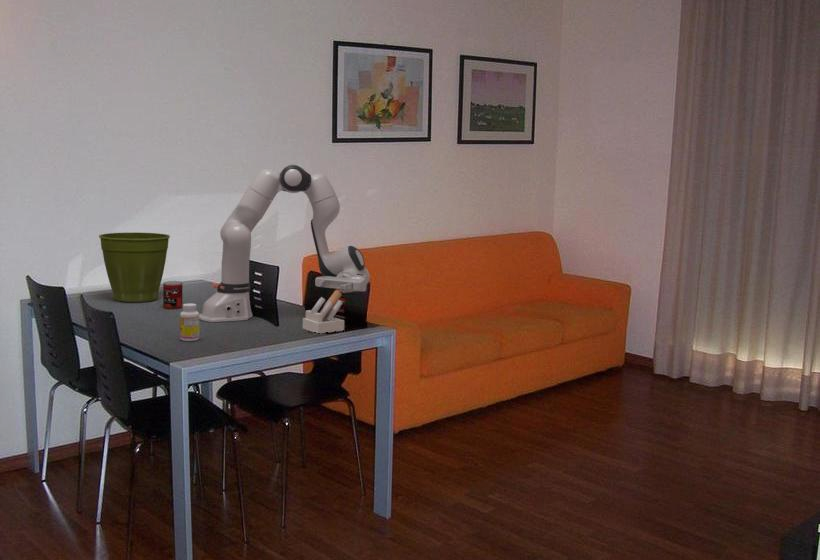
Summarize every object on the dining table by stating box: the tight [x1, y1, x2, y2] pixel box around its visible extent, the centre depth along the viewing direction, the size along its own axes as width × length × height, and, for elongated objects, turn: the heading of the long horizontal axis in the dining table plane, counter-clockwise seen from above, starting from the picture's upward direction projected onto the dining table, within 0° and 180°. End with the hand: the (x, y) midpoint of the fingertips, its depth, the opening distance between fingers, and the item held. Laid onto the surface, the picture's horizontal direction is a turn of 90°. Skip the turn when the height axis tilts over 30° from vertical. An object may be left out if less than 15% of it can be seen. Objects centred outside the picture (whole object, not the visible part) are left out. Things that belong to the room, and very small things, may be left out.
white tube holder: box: [302, 296, 345, 334], centre depth 332 cm, size 14×11×13 cm
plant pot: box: [98, 231, 171, 303], centre depth 378 cm, size 30×30×29 cm
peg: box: [319, 289, 343, 318], centre depth 333 cm, size 3×3×12 cm
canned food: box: [162, 280, 183, 310], centre depth 363 cm, size 8×8×11 cm
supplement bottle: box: [179, 302, 200, 342], centre depth 305 cm, size 7×7×13 cm
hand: (332, 286), depth 331 cm, fingers open, 8 cm apart
